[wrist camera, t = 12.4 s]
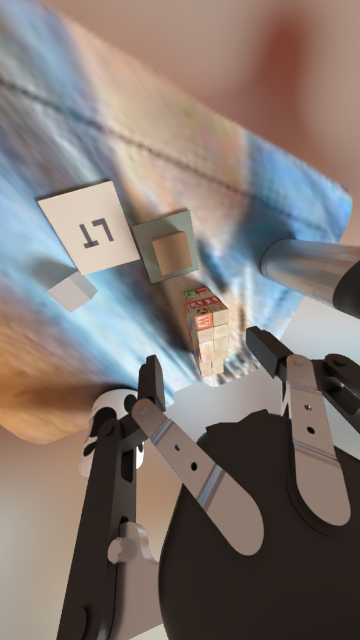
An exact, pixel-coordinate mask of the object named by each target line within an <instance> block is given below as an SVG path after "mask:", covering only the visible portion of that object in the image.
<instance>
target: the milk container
mask: <svg viewBox="0 0 360 640" xmlns="http://www.w3.org/2000/svg"><path fill="white" fill-rule="evenodd" d="M137 394H138V392H137V391H135V390H132V389H127V388H124V389H114V390H110V391H107V392H105V393H103V394H102V395H100V396H99V397H98V398H97V399H96V401H95V403H94V404H93V406H92V409H91V412H90V416H89V429H88V434H87V437H86V440H85V443H84V446H83V452H82V454H81V459H80V464H79V469H78V473H80V475H81V476H84V477H87V478H89V475H90V470H91V465H92V460H93V455H94V450H95V445H96V440H97V435H98V432H99V429H100V427H101V426H102V425H103V424H104V423H105V422H106V421H107V420H109V419H111V418H117V419H118V420H119V419H120V418H122V417H124V416H125V415H127V414H128V413H129V412H131V411H132V409H133V407H134V405H135V404H136V402H137ZM143 443H144V442H143ZM143 443H141V444H140V445H139V446H137V459H136V469H137V468H138V467H140V465H141V464H142V460H143V450H144V449H143Z"/></svg>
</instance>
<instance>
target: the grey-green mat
mask: <svg viewBox="0 0 360 640" xmlns="http://www.w3.org/2000/svg"><path fill="white" fill-rule="evenodd" d="M132 230H133V233H134V235H135V238H136V241H137V244H138V247H139V249H140V252H141V255H142V258H143V261H144V263H145V266H146V269H147V272H148V275H149V278H150V280H151V283H156V282H159V281H162V280H166V279H169V278H173V277H176V276H179V275H183V274H186V273H189V272H193V271H196V270H199V265H198V259H197V253H196V247H195V241H194V234H193V228H192V222H191V216H190V210H188V211H185V212H181V213H178V214H174V215H171V216H167V217H164V218H160V219H157V220H153V221H150V222H146V223H143V224H139V225H136V226H132ZM176 231H185V232H186V236H187V241H188V246H189V251H190V257H191V262H192V267H190V268H186V269H183V270H180V271H176V272H173V273H169V274H166V275H163V276H162V273H161V269H160V266H159V263H158V260H157V256H156V253H155V250H154V247H153V243H152V240H151V239H152V238H156V237H159V236H163V235H166V234H169V233H173V232H176Z"/></svg>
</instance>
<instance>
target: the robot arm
mask: <svg viewBox="0 0 360 640" xmlns="http://www.w3.org/2000/svg"><path fill="white" fill-rule="evenodd" d="M261 273H262V275H263V276H264V277H265V278H267V279H269V280H271V281H273V282H276V283H278V284H280V285H282V286H284V287H287V288H289V289H291V290H293V291H296V292H298V293H300V294H302V295H305V296H307V297H309V298H312V299H314V300H316V301H318V302H321V303H323V304H326V305H328V306H330V307H332V308H334V309H337V310H339V311H342V312H344V313H346V314H348V315H351V316H354V317H356V318H358V319H360V246H354V245H344V244H333V243H323V242H313V241H303V240H292V239H282V240H279V241H277V242H275V243H274V244H273V245H271V246H270V247H269V248H268V250H267V251H266V252H265V254H264V256H263V258H262V261H261ZM246 345H247V347H248V349H249V350H250V351H251V352H252V353H253V355H254V356H255V357H256V358H257V360H258V361H259V362H260V363H261V365H262V366H263V367H264V368H265V369H266V371H267V372H268V373H269V374H270V375H271V377H272V378H273V379H277V378H280V380H281V412H280V415H277V414H272V413H268V411H267V410H266V409H263V410H260V411H257V412H253V413H251V414H249V415H248V416H247V417H245V418H244V419H242V420H241V421H239V422H236V423H217V424H214V425H211V426H208V427H206V431H207V432H205V433H204V434H203V435H202V436H201V437H200V438H199V439H198V441H197V442H196V443H195V442H194V441H193V440H192V439H191V438H190V437H189V436H188V435H187V434H186V433H185V432H184V431H183V430H182V429H181V428H180V427H179V426H177V424H176V423H175V422H173V421H172V420H171V419H168V418H167V417H166V416H165V415H164V414H163V413H162V412H165V411H166V407H165V396H164V385H163V374H162V368H161V365H160V363H159V361H158V359H157V356H156V355H151V356H148V357H147V358H146V364H143V365H142V366H141V368H140V370H139V380H138V381H139V382H138V394H137V402H136V404H135V405H134V407H133V409H132V411H131V412H129V413H128V414H127V415H125V416H124V417H122V418H120V419H119V420H118V419H117V418H111V419H109V420H107V421H106V422H105V423H104V424H103V425H102V426H101V427H100V429H99V432H98V435H97V440H96V445H95V450H94V455H93V460H92V465H91V470H90V475H89V480H88V485H87V490H86V495H85V500H84V505H83V510H82V515H81V520H80V524H79V529H78V534H77V540H76V544H75V549H74V555H73V560H72V564H71V569H70V574H69V580H68V584H67V589H66V594H65V599H64V604H63V609H62V614H61V619H60V624H59V629H58V634H57V639H56V640H129V639H131V638H133V637H135V636H137V635H139V634H141V633H143V632H145V631H147V630H149V629H152V628H154V627H156V626H158V625H160V624H162V623H163V624H164V627H165V630H166V633H167V636H168V639H169V640H360V460H358V459H357V458H355V457H353V456H352V455H350V454H348V453H346V452H344V451H343V450H341V449H340V448H338V447H336V446H334V445H333V441H332V437H331V432H330V427H329V423H328V418H327V413H326V409H325V404H324V399H323V396H324V397H325V398H326V399H327V400H328V401H329V402H330V403H331V404H332V405H333V407H335V409H337V411H338V412H339V413H340V414H341V415H342V416H343V417H344V418H345V419H346V420H347V421H348V422H349V423H350V424H351V425H352V426H353V427H354V429H355V430H356V431H357V432H358V433H359V434H360V366H359V365H358V364H356V363H355V362H354V361H352V360H351V359H349V358H348V357H346V356H343V355H339V354H328V355H326V357H325V359H323V360H309V359H308V358H306V357H304V356H302V355H297V354H294V353H293V352H291V351H290V350H289V349H288V348H287V347H286V346H285V345H284V344H282V343H281V342H280V341H279V340H278V339H277V338H275V336H273V335H272V334H271V333H270V332H268V331H265V330H260V329H259V328H258V327H257V326H253V327H250V328H247V329H246ZM345 386H346V387H347V388H348V389H349V390H348V389H347V388H346V387H345ZM353 393H354V394H355V395H356V396H357V397H356V396H355V395H354V394H353ZM148 438H150V440H151V441H152V443H153V444H154V446H156V448H157V449H158V451H159V452H160V453H161V455H162V456H163V457H164V459H165V460H166V461H167V462H168V464H169V465H170V466H171V468H172V469H173V470H174V472H175V473H176V474H177V475H178V477H179V478H180V479H181V480H182V482H183V483H182V486H181V489H180V492H179V496H178V499H177V502H176V505H175V508H174V512H173V515H172V518H171V521H170V524H169V528H168V531H167V534H166V537H165V540H164V544H163V547H162V551H161V556H160V561H159V562H157V561H156V560H155V559H154V558H153V556H152V555H151V552H150V549H149V543H148V536H147V533H146V530H145V528H144V527H143V526H142V525H140V524H137V523H136V459H137V446H139V445H140V444H141V443H143V442H144V441H145V440H147V439H148Z"/></svg>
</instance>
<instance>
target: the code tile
mask: <svg viewBox="0 0 360 640" xmlns="http://www.w3.org/2000/svg"><path fill="white" fill-rule="evenodd" d="M37 202H38V203H39V205H40V207H41V208H42V210H43V212H44V213H45V215H46V217H47V218H48V220H49V222H50V223H51V225H52V227H53V228H54V230H55V232H56V233H57V235H58V237H59V238H60V240H61V241H62V243H63V245H64V246H65V248H66V250H67V251H68V253H69V255H70V256H71V258H72V260H73V261H74V263H75V265H76V266H77V268H78V270H79V271H80V273H81V275H82V276H83V275H86V274H89V273H93V272H96V271H100V270H103V269H107V268H110V267H113V266H117V265H120V264H124V263H127V262H131V261H134V260H137V259H140V256H139V253H138V250H137V248H136V245H135V242H134V239H133V237H132V234H131V231H130V228H129V226H128V223H127V220H126V217H125V215H124V212H123V209H122V206H121V204H120V201H119V198H118V195H117V193H116V190H115V187H114V184H113V182H112V181H109V182H105V183H101V184H98V185H94V186H91V187H87V188H84V189H80V190H76V191H73V192H69V193H66V194H62V195H58V196H55V197H51V198H48V199H44V200H40V201H37Z"/></svg>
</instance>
